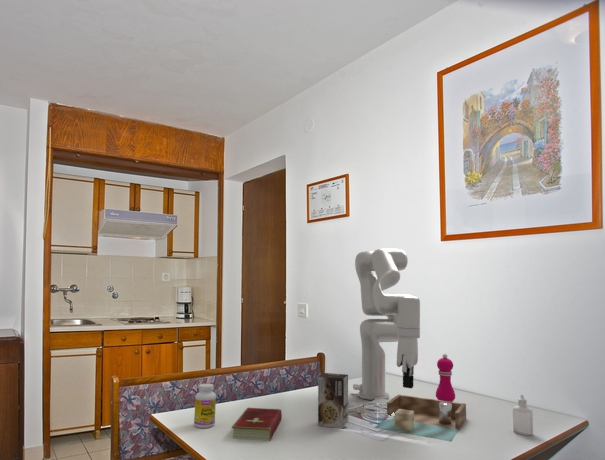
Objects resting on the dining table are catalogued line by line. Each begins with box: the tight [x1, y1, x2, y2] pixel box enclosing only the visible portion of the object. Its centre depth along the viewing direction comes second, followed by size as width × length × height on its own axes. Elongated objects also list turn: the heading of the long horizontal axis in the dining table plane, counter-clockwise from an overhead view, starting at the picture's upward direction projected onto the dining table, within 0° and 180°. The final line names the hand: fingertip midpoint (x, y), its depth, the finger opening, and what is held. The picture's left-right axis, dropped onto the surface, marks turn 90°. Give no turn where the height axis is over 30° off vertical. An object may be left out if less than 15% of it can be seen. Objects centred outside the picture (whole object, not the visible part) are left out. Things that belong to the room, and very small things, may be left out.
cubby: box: [374, 394, 467, 442], centre depth 157 cm, size 24×26×6 cm
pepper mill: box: [435, 353, 456, 402], centre depth 181 cm, size 7×7×20 cm
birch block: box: [395, 409, 414, 431], centre depth 152 cm, size 5×5×5 cm
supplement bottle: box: [193, 383, 217, 429], centre depth 154 cm, size 7×7×13 cm
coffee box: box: [317, 372, 349, 430], centre depth 158 cm, size 9×6×16 cm
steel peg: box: [439, 402, 452, 424], centre depth 158 cm, size 4×4×6 cm
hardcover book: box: [231, 407, 283, 442], centre depth 152 cm, size 12×21×4 cm, turn 174°
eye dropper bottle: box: [512, 394, 534, 436], centre depth 152 cm, size 4×6×12 cm
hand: (408, 387), depth 160 cm, fingers closed
